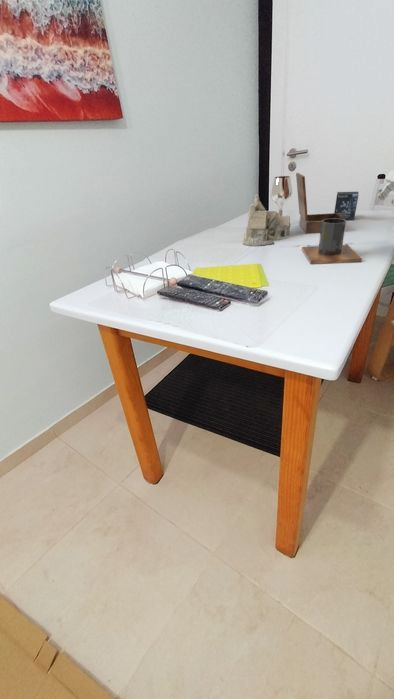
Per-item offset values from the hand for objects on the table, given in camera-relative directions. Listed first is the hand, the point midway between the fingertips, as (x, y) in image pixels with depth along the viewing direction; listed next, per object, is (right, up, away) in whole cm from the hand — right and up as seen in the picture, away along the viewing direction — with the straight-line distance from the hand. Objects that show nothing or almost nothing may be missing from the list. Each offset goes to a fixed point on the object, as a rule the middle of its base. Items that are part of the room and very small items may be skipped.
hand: (386, 201), depth 92 cm
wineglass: (-18, +9, +44) cm, 49 cm away
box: (+8, +12, +45) cm, 47 cm away
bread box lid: (-14, +15, +29) cm, 35 cm away
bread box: (-5, +4, +34) cm, 35 cm away
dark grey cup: (-12, -11, +9) cm, 19 cm away
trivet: (-12, -12, +10) cm, 19 cm away
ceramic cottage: (-27, -1, +29) cm, 40 cm away
